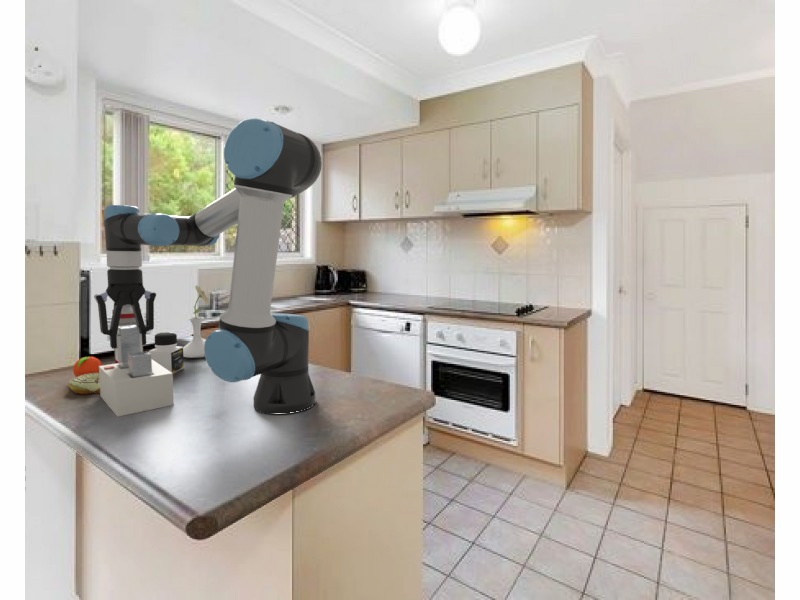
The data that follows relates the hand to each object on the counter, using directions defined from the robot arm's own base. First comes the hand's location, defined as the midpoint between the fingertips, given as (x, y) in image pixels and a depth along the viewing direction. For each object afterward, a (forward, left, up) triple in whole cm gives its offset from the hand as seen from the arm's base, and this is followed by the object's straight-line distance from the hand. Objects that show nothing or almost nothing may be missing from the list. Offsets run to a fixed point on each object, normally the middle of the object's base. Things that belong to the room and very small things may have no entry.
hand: (129, 358), depth 115 cm
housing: (-5, 0, -10) cm, 11 cm away
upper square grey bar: (0, 0, -10) cm, 10 cm away
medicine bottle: (+18, -14, -10) cm, 25 cm away
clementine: (+21, +6, -10) cm, 24 cm away
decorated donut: (+12, +6, -10) cm, 17 cm away
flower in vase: (+31, -28, -10) cm, 43 cm away
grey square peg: (-10, 0, -10) cm, 14 cm away
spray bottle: (+32, -7, -10) cm, 34 cm away
